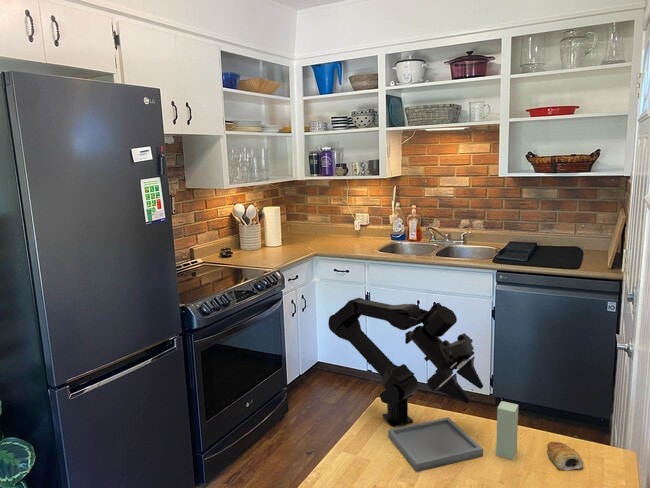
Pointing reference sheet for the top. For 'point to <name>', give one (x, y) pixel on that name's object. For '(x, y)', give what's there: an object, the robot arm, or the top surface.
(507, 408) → the block
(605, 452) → the top surface
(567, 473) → the top surface
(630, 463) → the top surface
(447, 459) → the tray
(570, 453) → the pastry
